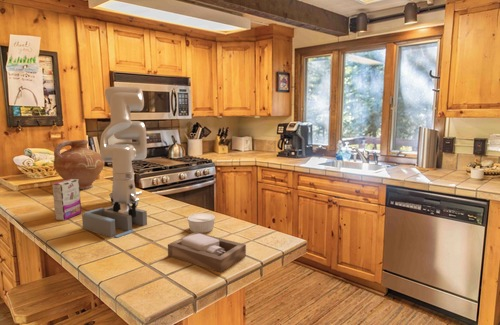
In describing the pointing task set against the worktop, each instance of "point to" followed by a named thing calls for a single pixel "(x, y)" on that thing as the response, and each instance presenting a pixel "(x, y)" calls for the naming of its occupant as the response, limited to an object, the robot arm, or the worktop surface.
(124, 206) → the pepper shaker
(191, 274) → the worktop surface
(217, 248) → the charger
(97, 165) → the jug
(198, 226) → the ramekin
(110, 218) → the shelf rack
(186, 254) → the dispenser tray
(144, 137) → the robot arm
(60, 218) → the candy bar box
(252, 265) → the worktop surface
